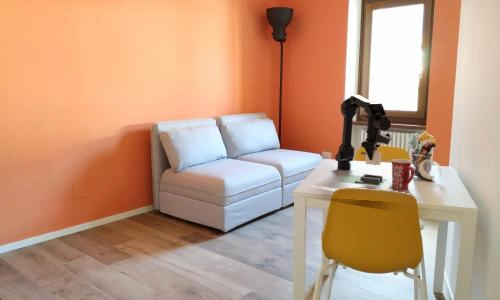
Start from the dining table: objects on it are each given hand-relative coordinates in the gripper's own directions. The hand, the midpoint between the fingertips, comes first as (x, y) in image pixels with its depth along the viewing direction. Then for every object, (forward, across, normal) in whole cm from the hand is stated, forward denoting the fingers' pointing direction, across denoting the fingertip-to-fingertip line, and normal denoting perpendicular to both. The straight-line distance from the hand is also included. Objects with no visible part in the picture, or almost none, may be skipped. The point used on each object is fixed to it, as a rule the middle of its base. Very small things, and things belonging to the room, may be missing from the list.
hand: (371, 159), depth 202 cm
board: (+13, 0, +4) cm, 13 cm away
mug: (+13, -1, -15) cm, 20 cm away
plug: (+2, 0, 0) cm, 2 cm away
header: (+11, 0, 0) cm, 11 cm away
